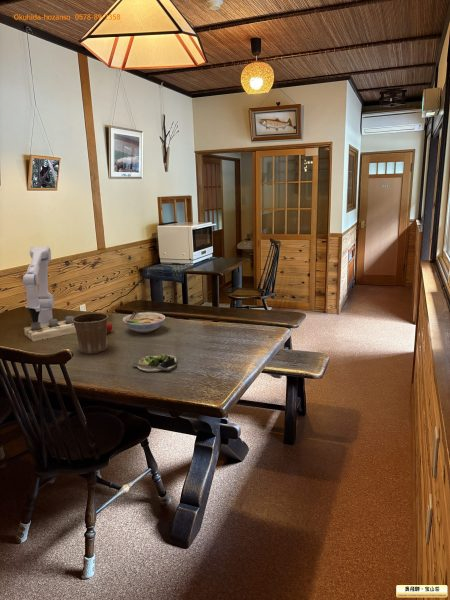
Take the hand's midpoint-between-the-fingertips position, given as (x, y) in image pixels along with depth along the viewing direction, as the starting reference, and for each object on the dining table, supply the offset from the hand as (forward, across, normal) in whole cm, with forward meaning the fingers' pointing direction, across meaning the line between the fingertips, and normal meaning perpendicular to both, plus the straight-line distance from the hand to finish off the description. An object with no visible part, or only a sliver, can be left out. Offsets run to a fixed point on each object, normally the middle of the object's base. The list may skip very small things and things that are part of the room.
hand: (35, 322), depth 227 cm
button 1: (+5, 0, 0) cm, 5 cm away
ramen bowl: (+8, +30, +48) cm, 57 cm away
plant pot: (+8, +40, +14) cm, 43 cm away
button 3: (+5, 0, +18) cm, 19 cm away
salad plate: (+8, +77, +28) cm, 82 cm away
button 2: (+5, 0, +9) cm, 10 cm away
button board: (+7, +1, +9) cm, 12 cm away
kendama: (+8, +21, +24) cm, 33 cm away
